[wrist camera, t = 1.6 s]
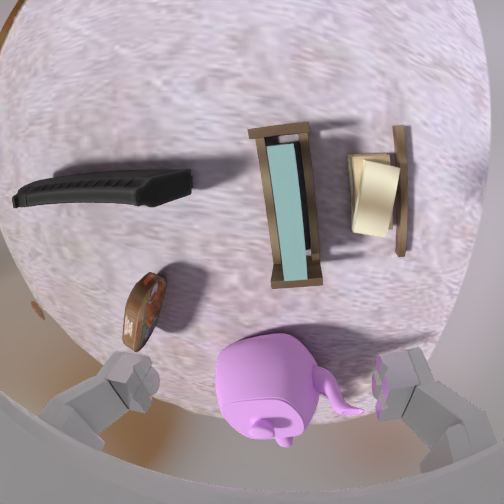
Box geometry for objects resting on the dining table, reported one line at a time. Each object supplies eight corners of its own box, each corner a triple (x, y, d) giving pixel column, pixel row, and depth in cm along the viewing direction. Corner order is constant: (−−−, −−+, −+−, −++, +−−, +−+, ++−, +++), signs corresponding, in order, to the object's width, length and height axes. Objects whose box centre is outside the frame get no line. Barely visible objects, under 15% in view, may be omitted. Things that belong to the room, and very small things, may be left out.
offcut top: (363, 159, 28) (366, 160, 26) (395, 166, 27) (400, 168, 26) (351, 228, 31) (353, 232, 30) (382, 232, 31) (386, 237, 29)
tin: (155, 332, 47) (135, 362, 39) (140, 324, 46) (119, 354, 39) (171, 268, 40) (146, 299, 32) (153, 260, 40) (126, 288, 32)
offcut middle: (350, 155, 29) (352, 156, 28) (385, 153, 28) (389, 154, 27) (355, 228, 33) (358, 232, 31) (388, 225, 32) (392, 229, 30)
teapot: (255, 404, 52) (243, 463, 38) (209, 336, 45) (180, 406, 31) (361, 384, 45) (370, 449, 32) (342, 304, 38) (358, 383, 25)
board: (272, 144, 31) (266, 146, 24) (293, 142, 30) (293, 143, 23) (286, 250, 36) (284, 281, 29) (305, 249, 36) (307, 279, 28)
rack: (255, 130, 30) (247, 129, 25) (399, 122, 27) (419, 120, 21) (275, 265, 37) (271, 288, 32) (401, 255, 34) (416, 275, 28)
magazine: (186, 179, 25) (-21, 206, 20) (187, 211, 26) (-16, 229, 22) (195, 161, 40) (39, 179, 36) (196, 181, 42) (41, 196, 37)
